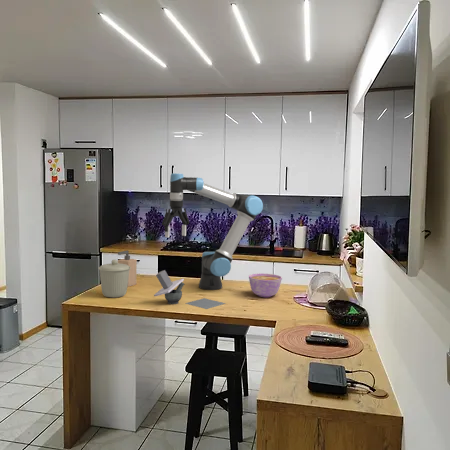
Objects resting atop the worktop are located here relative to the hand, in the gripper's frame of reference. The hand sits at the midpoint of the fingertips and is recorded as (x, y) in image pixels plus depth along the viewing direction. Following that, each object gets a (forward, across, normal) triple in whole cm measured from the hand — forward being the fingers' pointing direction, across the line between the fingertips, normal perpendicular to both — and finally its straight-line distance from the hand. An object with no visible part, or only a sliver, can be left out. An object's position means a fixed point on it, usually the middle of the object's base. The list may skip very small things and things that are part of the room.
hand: (175, 236), depth 262 cm
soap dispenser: (+35, -5, +40) cm, 53 cm away
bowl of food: (+35, +37, -39) cm, 64 cm away
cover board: (+26, -16, -12) cm, 33 cm away
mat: (+35, -3, -27) cm, 44 cm away
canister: (+35, -26, +23) cm, 49 cm away
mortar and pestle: (+35, -14, -14) cm, 40 cm away
